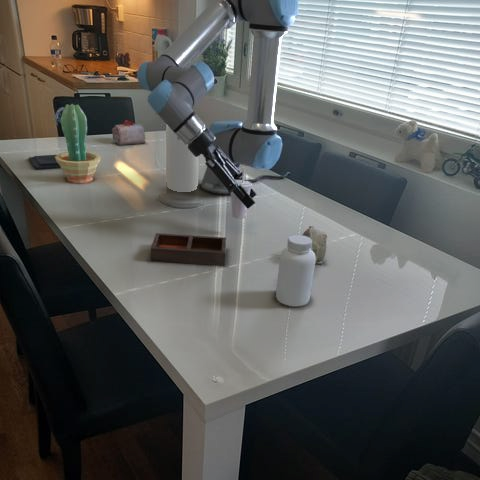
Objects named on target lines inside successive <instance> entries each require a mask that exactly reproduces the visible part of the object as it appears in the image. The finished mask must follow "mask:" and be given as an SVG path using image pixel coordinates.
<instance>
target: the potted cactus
mask: <svg viewBox="0 0 480 480" xmlns="http://www.w3.org/2000/svg"><path fill="white" fill-rule="evenodd" d="M54 119H55V125H56V126H59V123H60V124H61V131H62V133H63V136H64V138H65V142H66V147H67V151H65V152H61V153H58V154H55V155H56V156H55V159H56V161H57V163H58V164H59V165H60V167H61V168H60V169H61V171H62V172H63V173H64V174H65V176H66V180H67V181H68V182H70V183H74V184H85V183H86V184H87V183H91V182H92V181H93V180H94V177H93V175H94V174H95V172H96V171H97V168H98V165H99V163H100V162H101V156H100V155H99V154H98V153H94V152H90V151H87V150H86V149H87V148H86V139H87V135H88V119H87V116H86V114H85V112H84V111H83V109H82V108H81V106H80V105H79V104H74V103H70V104H69V103H68V104H65V106H62V107H59V108H58V109H57V110H56V112H55V115H54Z"/></svg>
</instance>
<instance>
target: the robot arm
mask: <svg viewBox="0 0 480 480" xmlns="http://www.w3.org/2000/svg"><path fill="white" fill-rule="evenodd" d="M298 13H299V0H208V1H207V5H206V7H205V9H204V10H203V11H202V12H200V14H199V15H198V16H197V17H196V18H195V19H194V20H193V21H192V22H191V23H190V24H189V25H188V26H187V27H186V28H185V29H184V30H183V31H182V32H181V33H180V35H178V37H177V38H176V39H174V41H173V42H171V43H170V45H169V46H168V47H167V48H166V49H165V50H164V51H163V52H162V53H161V54H160V55H159V56H158V57H157V58H156V59H155V60H154V61H152V60H150V61H144V62H142V63H141V64H139V66H138V69H137V75H136V77H137V78H136V79H137V82H138V85H139V87H141V88H142V90H145V91H148V92H149V94H148V95H147V98H146V100H147V103H148V104H149V106H150V107H151V108H152V110H153V111H154V112H155V114H156V115H158V117H159V118H160V119H161V120H163V122H164V123H165V124H166V125H167V127H169V129H170V130H171V131H172V132H173V133H174V134H175V135H176V140H178V141H179V140H180V141H181V142H182V144H184V146H185V145H187V150H188V151H190V153H191V154H192V155H193V156H194V157H195V158H198V157H199V156H201V155H202V156H203V157H204V160H205V166H206V169H205V172H204V174H203V178H202V180H201V188H202V189H203V190H204V191H205V192H208V193H211V194H215V195H216V194H217V195H231V192H233V193H234V194H235V195H236V196H237V197H238V198H239V200H240V201H241V202H242V203H243V204H244V205H245V206H246V208H247V209H246V210H249V209H250V208H251V207H252V206H253V205H255V204H256V201H255V200H254V199H253V198H255V197H256V196H257V195H258V194H257V192H256V190H254V189H253V187H252V188H251V189H250V194H248V193H247V192H246V191H245V190H244V188H243V187H242V186H241V185H239V184H238V183H237V182H236V180H242V173H243V171H241V165H242V166H245V167H249V168H253V169H254V170H261V171H268V170H270V169H272V168H273V167H274V166H275V165H276V163H277V162H278V160H279V159H280V156H281V154H282V150H283V141H282V137H280V136H279V135H278V134H277V131H278V127H277V125H276V124H275V123H274V117H275V107H276V97H277V87H278V78H279V68H280V58H281V48H282V39H283V38H284V37H285V36H286V35H287V34H288V33H289V31H288V30H289V27H290V26H292V25H293V24H294V23H295V21H296V18H297V16H298ZM240 22H248V25H249V26H248V30H249V31H250V33H251V34H252V36H253V38H252V50H251V62H250V63H251V64H250V75H249V76H250V77H249V89H248V101H247V113H246V119H245V121H244V122H242V121H240V120H223V121H222V120H221V121H214V122H212V123H211V124H210V125H209V127H208V128H207V127H206V124H205V123H204V121H203V120H202V119H201V118H200V117H199V115H198V114H197V113H196V112H195V111H194V110H193V107H194V106H195V105H196V104H197V103H198V102H199V101H200V100H201V99H202V98H203V97H205V95H207V94H208V92H209V91H210V90H211V89H212V87H213V86H214V84H215V77H214V76H215V75H214V72H213V70H212V69H211V68H210V66H209V65H208V64H206V63H205V62H203V61H196V60H198V58H199V57H200V56H201V55H202V54H203V53H204V52H205V51H206V50H207V48H209V46H210V45H211V44H212V43H214V41H215V40H216V39H217V38H218V37H219V36H220V35H221V34H222V32H223V31H224V30H229V29H231V28H232V27H233V26H234V25H235V24H237V23H240ZM195 61H196V62H195ZM287 176H292V174H291V173H290V171H286V172H285V174H284V175H269V174H263V175H262V174H261V175H259V176H258V177H256V178H253V179H252V178H251V179H249V178H247V179H245V178H244V180H245V181H249V182H251V183H255V182H258V181H259V180H260V179H264V178H265V179H266V178H267V179H268V178H269V179H279V180H280V179H284V178H286V177H287ZM231 184H232V185H231Z"/></svg>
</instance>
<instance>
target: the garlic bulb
mask: <svg viewBox="0 0 480 480" xmlns="http://www.w3.org/2000/svg"><path fill="white" fill-rule="evenodd" d="M301 235H303V236H307V237H309V238H310V239H311V240H312V247H311V250H312V251H313V252H314V254H315V256H316V261H315V264H323V260H324V259H325V257H326V254H327V253H326V252H327V238H328V235H327V233H326V232H324V231H323V230H322V229H320V228H317V227H315V226H314V225H313V226H312V225H309V227H308V228H307V229H306V230H305V231H304V232H303V233H302V234H301Z"/></svg>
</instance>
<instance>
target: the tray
mask: <svg viewBox="0 0 480 480" xmlns="http://www.w3.org/2000/svg"><path fill="white" fill-rule="evenodd" d="M226 247H227V237H223V236H205V235H193V234H192V235H190V234H177V233H176V234H175V233H159V232H158V233H157V232H155V235H154V238H153V239H152V244H151V246H150V262H157V263H158V262H161V263H177V264H190V265H191V264H192V265H193V264H194V265H210V266H226V252H227V251H226V249H227V248H226Z"/></svg>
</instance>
